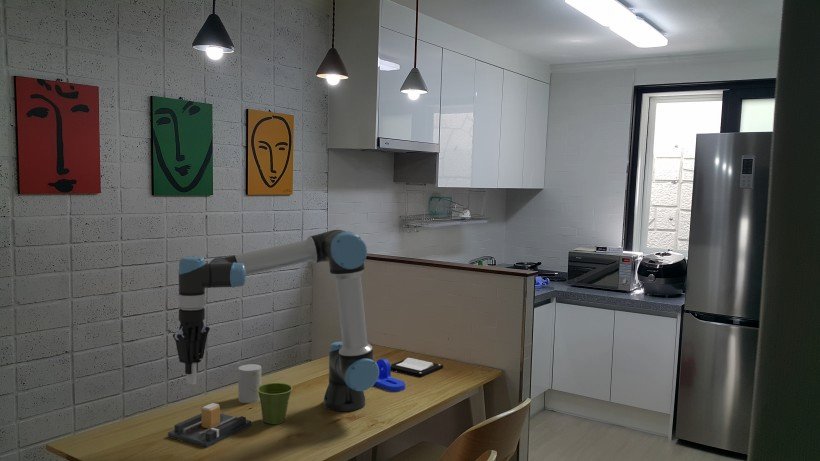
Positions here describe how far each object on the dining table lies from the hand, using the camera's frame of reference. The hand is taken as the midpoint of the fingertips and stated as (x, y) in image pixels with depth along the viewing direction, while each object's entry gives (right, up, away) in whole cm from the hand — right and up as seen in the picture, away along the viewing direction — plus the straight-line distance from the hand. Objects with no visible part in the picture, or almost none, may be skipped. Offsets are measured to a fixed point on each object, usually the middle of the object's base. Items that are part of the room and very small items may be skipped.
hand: (191, 383), depth 189 cm
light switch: (+69, -15, +82) cm, 108 cm away
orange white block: (+3, -16, +8) cm, 18 cm away
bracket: (+58, -16, +59) cm, 84 cm away
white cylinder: (+8, -16, +38) cm, 42 cm away
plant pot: (+21, -17, +19) cm, 33 cm away
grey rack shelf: (+3, -16, +8) cm, 18 cm away
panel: (+3, -17, +9) cm, 20 cm away
